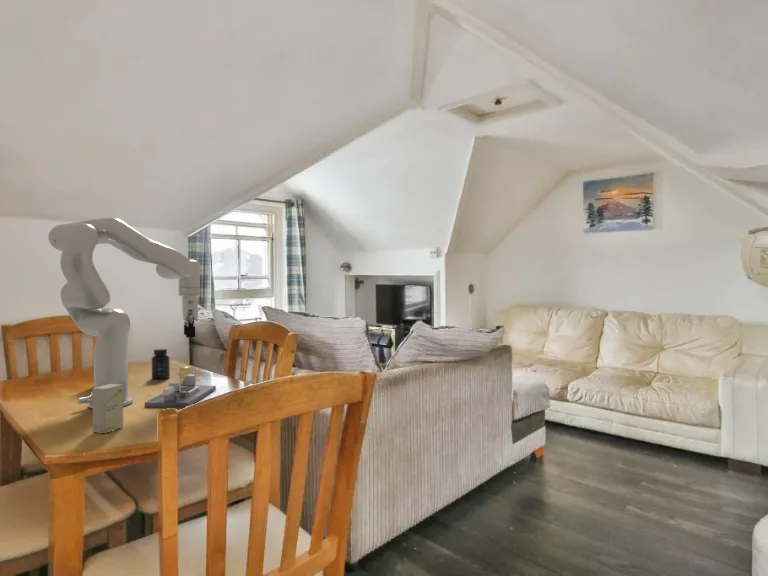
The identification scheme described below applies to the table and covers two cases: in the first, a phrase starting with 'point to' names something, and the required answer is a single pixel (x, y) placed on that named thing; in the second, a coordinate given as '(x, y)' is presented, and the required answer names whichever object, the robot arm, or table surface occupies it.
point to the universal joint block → (184, 373)
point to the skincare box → (107, 408)
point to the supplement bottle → (160, 364)
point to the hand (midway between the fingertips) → (189, 335)
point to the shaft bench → (181, 394)
